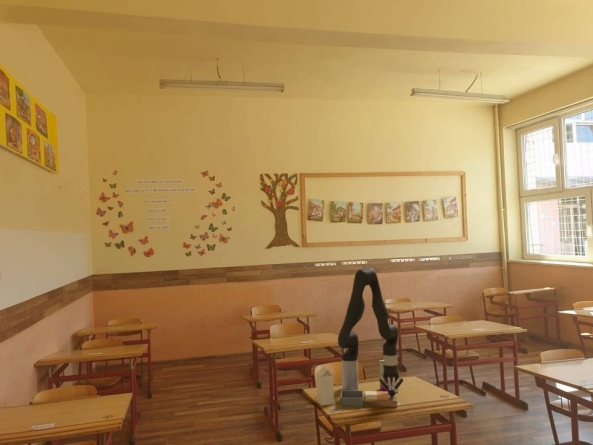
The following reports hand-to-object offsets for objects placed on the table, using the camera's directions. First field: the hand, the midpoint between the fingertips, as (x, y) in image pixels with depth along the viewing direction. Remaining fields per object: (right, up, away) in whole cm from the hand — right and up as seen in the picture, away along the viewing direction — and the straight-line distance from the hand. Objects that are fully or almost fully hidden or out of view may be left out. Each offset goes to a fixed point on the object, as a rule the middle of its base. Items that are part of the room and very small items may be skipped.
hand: (391, 396), depth 241 cm
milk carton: (-35, -5, +3) cm, 35 cm away
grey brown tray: (-6, -4, 0) cm, 7 cm away
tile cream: (-11, -1, +1) cm, 11 cm away
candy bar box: (+3, -5, +22) cm, 23 cm away
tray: (-21, -4, +2) cm, 21 cm away
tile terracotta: (-5, -1, 0) cm, 5 cm away
